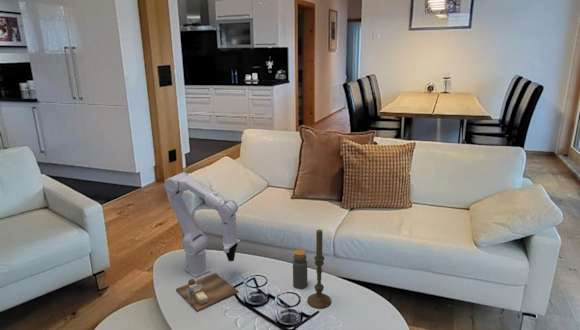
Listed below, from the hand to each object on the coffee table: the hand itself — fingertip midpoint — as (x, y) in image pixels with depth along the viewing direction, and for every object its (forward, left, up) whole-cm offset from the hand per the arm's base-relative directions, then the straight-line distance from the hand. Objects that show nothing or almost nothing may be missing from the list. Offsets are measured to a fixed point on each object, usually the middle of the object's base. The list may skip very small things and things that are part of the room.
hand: (231, 260), depth 162 cm
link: (+3, -18, -7) cm, 19 cm away
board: (+2, -13, -8) cm, 16 cm away
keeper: (+3, -18, -7) cm, 20 cm away
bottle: (+23, +18, -9) cm, 30 cm away
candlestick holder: (+36, +16, -9) cm, 40 cm away
